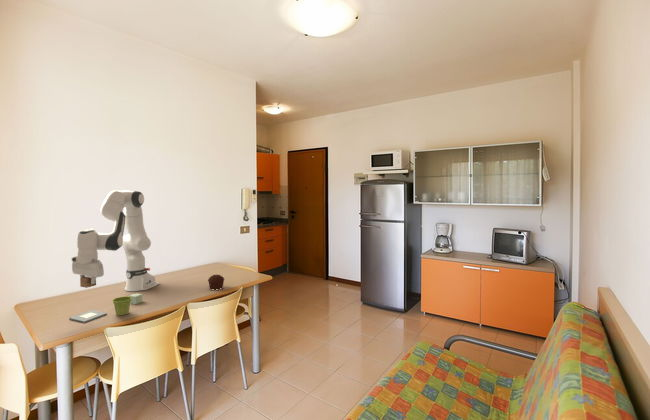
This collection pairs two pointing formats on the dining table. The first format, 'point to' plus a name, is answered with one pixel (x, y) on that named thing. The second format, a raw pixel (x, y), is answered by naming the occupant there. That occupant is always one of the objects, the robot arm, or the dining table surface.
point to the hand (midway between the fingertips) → (88, 283)
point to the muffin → (216, 282)
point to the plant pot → (122, 305)
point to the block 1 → (86, 282)
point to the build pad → (88, 316)
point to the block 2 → (136, 298)
